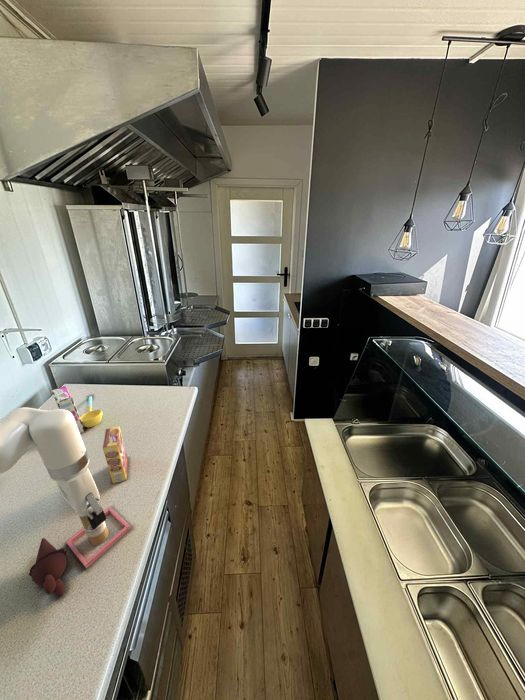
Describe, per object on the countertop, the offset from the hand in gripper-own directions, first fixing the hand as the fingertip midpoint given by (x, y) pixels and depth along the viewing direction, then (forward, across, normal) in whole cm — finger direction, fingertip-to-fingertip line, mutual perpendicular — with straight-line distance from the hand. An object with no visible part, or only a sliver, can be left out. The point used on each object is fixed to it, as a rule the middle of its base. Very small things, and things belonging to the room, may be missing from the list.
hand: (89, 513), depth 70 cm
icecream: (+10, -1, -10) cm, 15 cm away
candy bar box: (+10, -50, +17) cm, 54 cm away
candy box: (+10, -15, +15) cm, 24 cm away
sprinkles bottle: (+10, 0, 0) cm, 10 cm away
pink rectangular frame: (+10, 0, 0) cm, 10 cm away
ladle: (+10, -54, +26) cm, 61 cm away
